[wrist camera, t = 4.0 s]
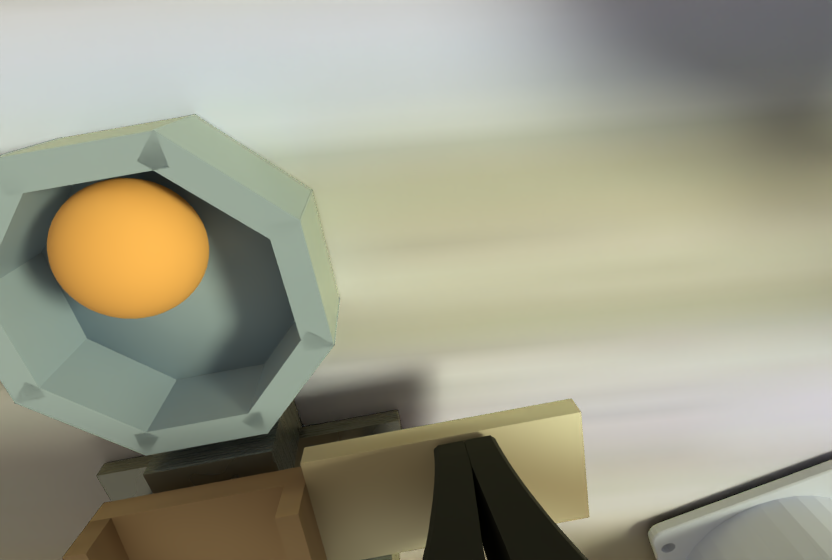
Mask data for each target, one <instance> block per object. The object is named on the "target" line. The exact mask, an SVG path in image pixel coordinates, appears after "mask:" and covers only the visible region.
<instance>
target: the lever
mask: <svg viewBox="0 0 832 560" xmlns="http://www.w3.org/2000/svg"><path fill="white" fill-rule="evenodd" d="M489 435H491V436H492V437H494V438H495V439H496V441H497V443H498V445H499V446H500V448H501V450H502V452H503V453H504V455H505V456H506V458H507V460H508V461H509V463H510V464H511V466H512V467H513V469H514V470H515V472H516V473H517V474H518V476H519V477H520V479H521V480H522V481H523V483H524V484H525V486H526V487H527V488H528V490H529V491H530V492H531V494H532V495H533V496H534V497H535V499H536V500H537V501H538V502H539V504H540V505H541V506H542V507H543V509H544V510H545V511H546V512H547V514H548V515H549V516H550V517H551V519H552V520H553V521H554V522H555V523H561V522H566V521H572V520H577V519H582V518H588V517H589V507H588V494H587V482H586V469H585V456H584V443H583V431H582V418H581V411H580V410H579V408H578V407H577V406H576V404H575V403H574V401H573V400H572V399H566V400H561V401H555V402H550V403H544V404H539V405H533V406H528V407H523V408H517V409H512V410H506V411H501V412H495V413H490V414H484V415H479V416H474V417H468V418H463V419H457V420H452V421H446V422H441V423H435V424H430V425H425V426H419V427H414V428H408V429H403V430H397V431H392V432H386V433H381V434H376V435H370V436H365V437H359V438H354V439H348V440H343V441H337V442H332V443H327V444H321V445H316V446H310V447H305V448H304V451H303V455H302V459H301V463H300V465H301V467H296V468H290V469H285V470H279V471H274V472H269V473H263V474H258V475H252V476H247V477H241V478H236V479H230V480H225V481H220V482H214V483H209V484H203V485H198V486H192V487H187V488H182V489H176V490H171V491H165V492H160V493H154V494H149V495H144V496H138V497H133V498H127V499H122V500H116V501H111V502H106V503H103V504H102V506H101V507H100V508H99V510H98V511H97V512H96V514H95V515H94V516H93V518H92V519H91V520H90V522H89V523H88V524H87V526H86V527H85V528H84V530H83V531H82V532H81V534H80V535H79V536H78V537H77V539H76V540H75V541H74V543H73V544H72V545H71V547H70V548H69V549H68V551H67V552H66V553H65V555H64V556H63V557H62V558H63V560H363V559H368V558H374V557H379V556H384V555H390V554H395V553H401V552H406V551H411V550H417V549H422V548H425V546H426V541H427V535H428V530H429V523H430V515H431V508H432V501H433V491H434V476H435V460H434V449H435V448H436V447H437V446H438V445H442V444H447V443H452V442H458V441H463V440H468V439H473V438H478V437H484V436H489Z"/></svg>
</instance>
